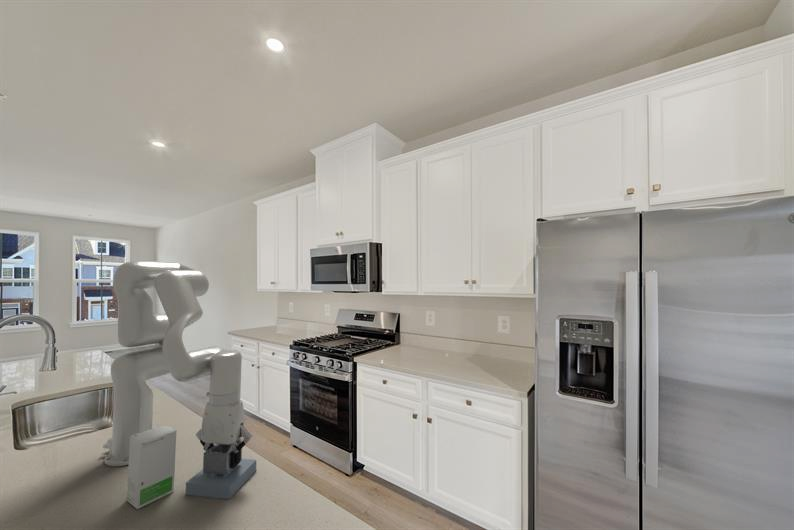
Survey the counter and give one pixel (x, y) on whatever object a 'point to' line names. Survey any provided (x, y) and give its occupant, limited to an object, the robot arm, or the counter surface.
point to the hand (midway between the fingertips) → (223, 463)
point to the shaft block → (221, 481)
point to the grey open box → (218, 459)
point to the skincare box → (151, 465)
